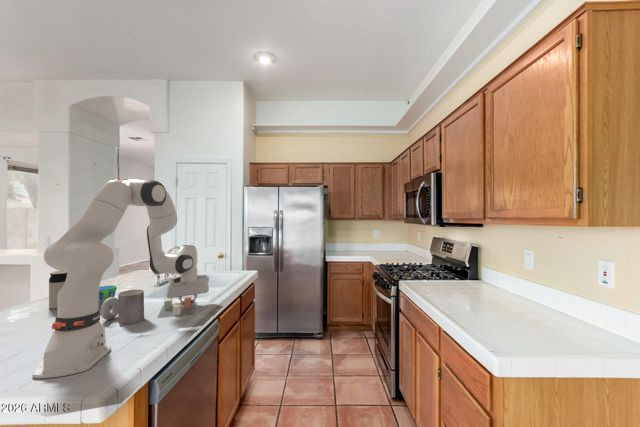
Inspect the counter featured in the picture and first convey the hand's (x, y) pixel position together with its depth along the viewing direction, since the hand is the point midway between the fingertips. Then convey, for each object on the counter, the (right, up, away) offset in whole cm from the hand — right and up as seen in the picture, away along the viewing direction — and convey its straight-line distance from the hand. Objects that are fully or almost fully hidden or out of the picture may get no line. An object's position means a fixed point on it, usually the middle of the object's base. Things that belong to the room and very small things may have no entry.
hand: (187, 304), depth 156 cm
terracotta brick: (0, -1, 0) cm, 1 cm away
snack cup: (-43, -2, 0) cm, 43 cm away
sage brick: (-8, -1, -3) cm, 9 cm away
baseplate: (-2, -2, -6) cm, 7 cm away
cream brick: (0, -1, -12) cm, 12 cm away
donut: (-28, -2, -17) cm, 33 cm away
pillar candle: (-15, -2, -22) cm, 27 cm away
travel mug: (-66, -2, +1) cm, 67 cm away
